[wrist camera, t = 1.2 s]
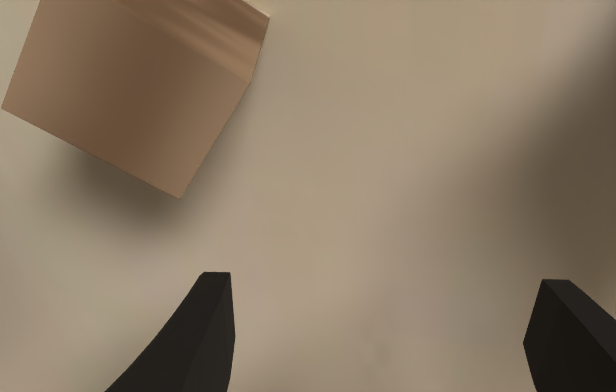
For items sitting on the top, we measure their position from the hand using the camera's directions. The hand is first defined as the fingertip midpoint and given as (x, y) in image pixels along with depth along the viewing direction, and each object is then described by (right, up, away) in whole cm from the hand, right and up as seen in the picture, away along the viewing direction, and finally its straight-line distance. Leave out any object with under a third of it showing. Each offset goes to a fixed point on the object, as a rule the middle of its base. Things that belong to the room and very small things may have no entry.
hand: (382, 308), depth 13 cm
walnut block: (-6, +9, +7) cm, 13 cm away
